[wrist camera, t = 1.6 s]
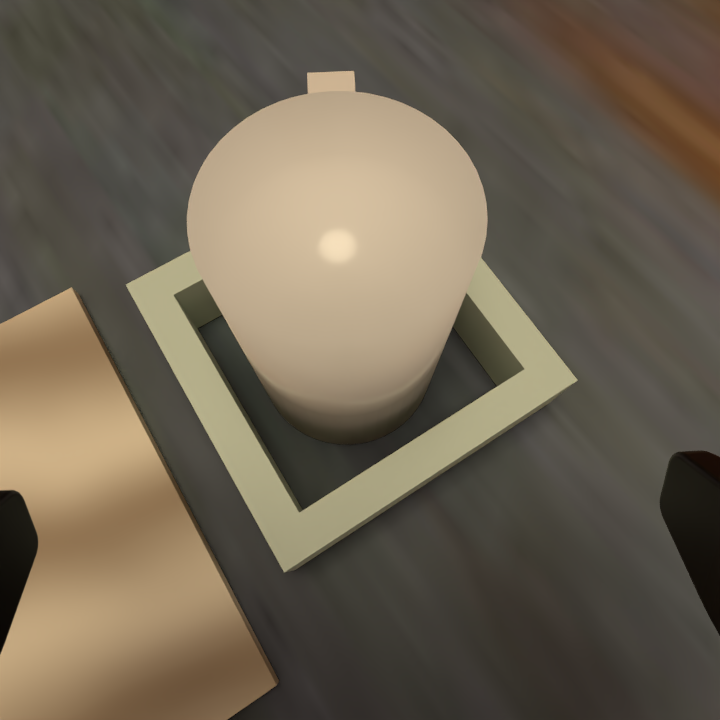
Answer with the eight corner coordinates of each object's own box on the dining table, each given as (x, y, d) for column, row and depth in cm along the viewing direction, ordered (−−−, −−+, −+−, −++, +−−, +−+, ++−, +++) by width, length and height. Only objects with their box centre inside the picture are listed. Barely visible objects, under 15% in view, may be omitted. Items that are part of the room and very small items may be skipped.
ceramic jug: (439, 439, 21) (507, 341, 11) (262, 449, 21) (180, 358, 11) (419, 245, 23) (460, 32, 14) (262, 253, 23) (195, 44, 14)
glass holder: (548, 403, 21) (577, 380, 18) (295, 569, 19) (283, 572, 16) (388, 193, 24) (392, 144, 21) (155, 319, 22) (125, 285, 19)
